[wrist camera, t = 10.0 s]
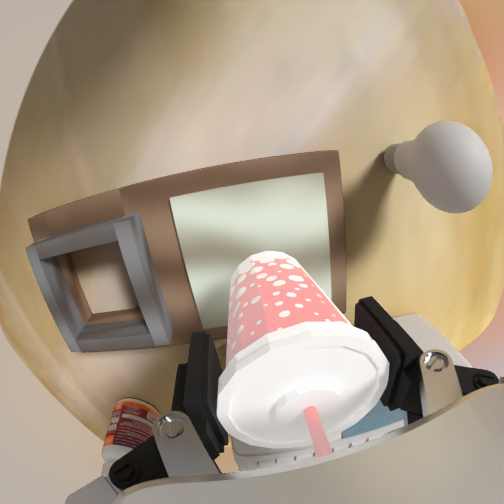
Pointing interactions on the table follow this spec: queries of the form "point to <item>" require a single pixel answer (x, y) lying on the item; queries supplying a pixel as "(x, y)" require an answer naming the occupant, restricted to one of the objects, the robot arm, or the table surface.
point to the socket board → (191, 246)
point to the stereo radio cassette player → (365, 429)
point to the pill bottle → (127, 429)
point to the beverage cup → (293, 360)
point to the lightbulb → (445, 166)
